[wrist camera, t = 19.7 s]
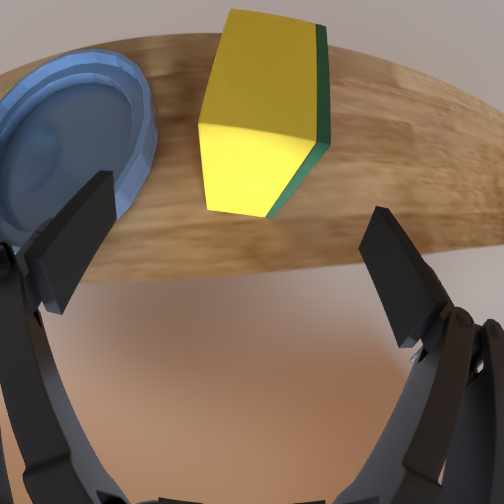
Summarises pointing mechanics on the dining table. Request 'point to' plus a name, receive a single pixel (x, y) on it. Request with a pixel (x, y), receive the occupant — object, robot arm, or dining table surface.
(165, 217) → the dining table surface
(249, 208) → the sponge
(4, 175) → the bowl
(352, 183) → the dining table surface
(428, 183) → the dining table surface
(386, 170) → the dining table surface
